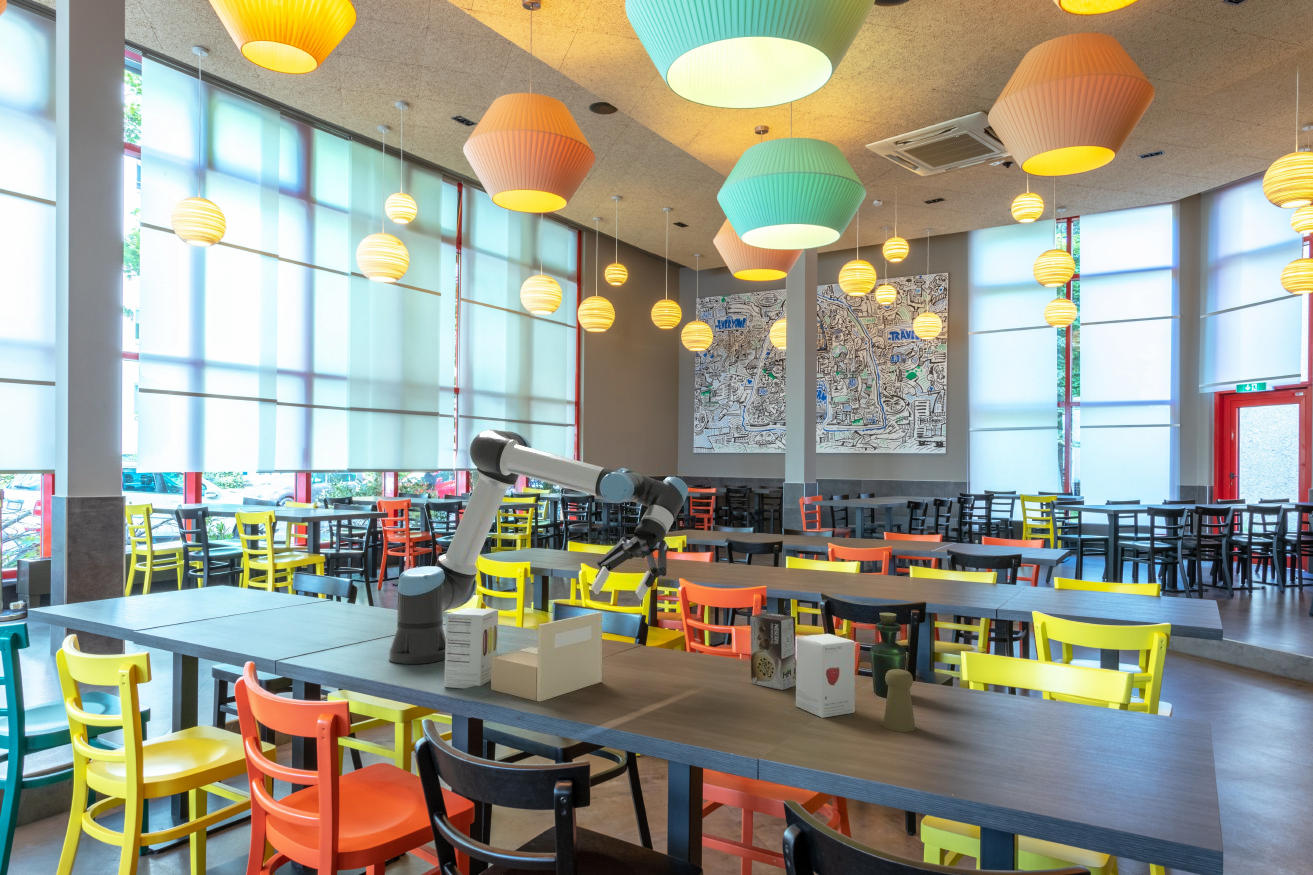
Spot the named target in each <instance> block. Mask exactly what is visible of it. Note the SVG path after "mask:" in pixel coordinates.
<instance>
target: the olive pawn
mask: <svg viewBox="0 0 1313 875" xmlns="http://www.w3.org/2000/svg"><path fill="white" fill-rule="evenodd" d="M885 680H886V684H887V685H888V693H887V697H886V702H885V710H884V716H883V727H884V728H885V729H887V730H890V731H893V732H901V733H907V732H914V731H916V723H915V714H914V709H913V708H914V707H913V702H912V701H913V700H912V694H911V688H912V686H913V682H914V678H913V675H912V673H911V672H910V671H908V670H901V669H892V670H889V671H888V672H887V673H886V676H885Z"/></svg>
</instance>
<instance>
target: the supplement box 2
mask: <svg viewBox="0 0 1313 875" xmlns="http://www.w3.org/2000/svg"><path fill="white" fill-rule="evenodd" d="M855 642H856V641H855V640H852V639H849V638H844V637H841V636H838V635H835V634H832V633H823V634H811V635H801V636H796V686H795V707H797V708H800V709H801V710H803V711H806V712H808V713H811V714H813V715H816V716H818V717H820V718H821V719H823V718H829V717H835V716H836V717H837V716H842V715H846V714H854V713H855V712H856V711H855V709H856V708H855V707H856V706H855V705H856V704H855V701H856V697H855V695H856V693H855V692H856V691H855V690H856V687H855V686H856V684H855V681H856V679H855V678H856V677H855V676H856V675H855V674H856V673H855V671H856V670H855V669H856V662H855V661H856V660H855V659H856V658H855V657H856V650H855V649H856V647H855V646H856V643H855Z"/></svg>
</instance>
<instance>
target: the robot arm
mask: <svg viewBox="0 0 1313 875" xmlns="http://www.w3.org/2000/svg"><path fill="white" fill-rule="evenodd" d="M469 456H470V458H471V462H472V463H473V465H474V466H475V467H476V470H475V471H476V472H477V475H478V479H477V480H476V484H475V486H474V488H473V490H472V493H471V495H470V497H469V499H468V502H467V505H466V507H465V510H464V512H463V514H462V516H461V518H460V520H459V523H458V525H457V528H456V530H455V532H454V535H453V537H452V539H451V541H450V544H449V547H448V549H447V551H446V553H444V554H442V555H439V557H438V559H437V561H436V563H435V566H434V565H432V566H431V565H430V566H429V565H427V566H426V565H425V566H418V567H411V568H409V569H406V570H404V571H402V572H401V573H400V575H399V576H398V584H397V619H396V620H397V626H396V628H397V629H396V632H395V635H394V637H393V641H392V643H391V646H390V647H389V648H390V649H389V651H388V652H389V656H388V658H389V661H391V662H392V663H397V664H403V665H405V664H406V665H419V664H429V663H430V664H431V663H435V662H436V663H437V662H439V661H443V660H444V661H445V646H446V632H445V630H444V627H443V626H444V624H443V623H444V612H447V611H450V610H453V609H458V608H460V607H462V606H464V605H465V604H467V603H469V602H470V601H471V600H472V599H473V597H474V596H475V594H476V591H477V586H478V582H477V577H476V576H477V574H478V572H479V570H478V568H477V565H476V563H477V560H478V558H479V555H480V554H481V551H482V549H483V547H484V544H485V542H486V540H487V537H488V535H489V532H490V530H491V528H492V526H493V523H494V521H495V518H496V516H497V514H498V511H499V509H500V507H501V505H502V502H503V500H504V498H505V495H506V493H507V490H508V489H509V488H511V487H514V486H515V485H516V483H517V482H518V479H519V477H520V476H522V477H526V478H530V479H532V480H536V481H540V482H543V483H547V484H550V485H554V486H558V487H561V488H564V489H565V488H566V489H570V490H573V491H577V492H581V493H584V494H588V495H591V496H594V497H597V498H598V497H599V498H601V499H605V500H606V501H607V502H610V503H613V504H622V503H629V502H634V503H636V504H639V505H642V506H645V507H646V511H645V512H644V513H643V516H642V517H641V519H640V520H639V523H638V524H637V526H636V528H635V529H634V534H633V537H632V538H631V539H630V540H629V539H626V537H625V536H622V537H621V538H620V540H619V541H618V542H617V544H615V545H614V546H613V547H612V548H611V549H609V551H607V552H606V553H605V554H604V555H603V556H601V557H600V558H599V559H597V561H596V565H597V566H598V567H599V569H598V571H597V573H596V575H595V579H594V581H593V582H592V584H591V586H590V588H591V590H592V591H593V592H594V594H595V595H599V594H600V591H601V590H602V588H603V587H604V585H605V583H606V582H607V580H608V578H609V576H610V575H611V573H610V572H611V571H612V570H613V569H615V568H617V567H618V566H620V565H621V564H623V563H624V562H626V561H627V560H632V559H633V558H641V559H645V558H646V559H647V563H648V566H649V570H646V572H645V574H644V575H643V577H642V579H641V581H640V582H639V585H638V586H637V588H636V590H635V592H634V593H635V595H636V596H637V597H638V599H639V600H640V601H643V600H644V598H645V596H646V594H647V592H648V590H649V588H652V587H653V585H654V583H655V581H656V580H657V578H659V577H661V576H662V577H666V576H667V568H668V566H667V563H668V562H667V560H668V559H667V558H668V557H667V553H668V551H669V548H670V546H669V545H668V543H667V542H666V540H665V537H666V535H667V533H668V532H669V530H670V528H671V526H672V525H673V523H674V521H675V519H676V517H677V516H678V514H679V512H680V510H681V509H682V507H683V506H684V504H685V501H686V499H687V497H688V494H689V486H688V485H687V484H686V482H684V480H682V479H681V478H679V477H677V476H666V478H665V479H664V480H662V481H661V480H657V479H654V478H651V477H650V476H646V475H643V474H641V473H638V472H636V471H635V470H632V469H628V468H625V467H622V468H619V469H618V470H615V469H610V468H606V467H603V466H599V465H596V464H591V463H588V462H584V461H580V460H576V459H573V458H569V457H566V456H562V455H558V454H554V453H550V452H546V451H544V450H543V451H542V450H540V449H536V448H532V445H531V443H530V441H529V440H528V439H527V438H526V437H524V436H523V435H522V434H519V433H516V432H514V431H510V430H509V431H507V430H506V431H505V430H497V429H487V430H484V431H481V432H479V433H478V434H476V436H475V437H474V438H473V440H472V441H471V443H470V446H469ZM655 551H657V564H656V561H655V556H654V552H655Z"/></svg>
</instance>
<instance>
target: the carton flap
mask: <svg viewBox="0 0 1313 875" xmlns="http://www.w3.org/2000/svg"><path fill="white" fill-rule="evenodd" d="M537 646H538V656H537V702H538V703H539V702H544V701H547V700H550V699H553V698H555V697H559V696H562V695H564V694H568V693H571V692H574V691H577V690H580V689H583V688H586V687H589V686H592V685H593V686H594V685H596V684H599V683H602V672H603V671H602V667H603V665H602V662H603V660H602V656H603V654H602V653H603V612H602V611H597V612H591V613H587V614H583V615H578V616H571V617H569V618H568V617H567V618H564V619H558V620H553V621H549V622H545V623H538V625H537Z"/></svg>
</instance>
